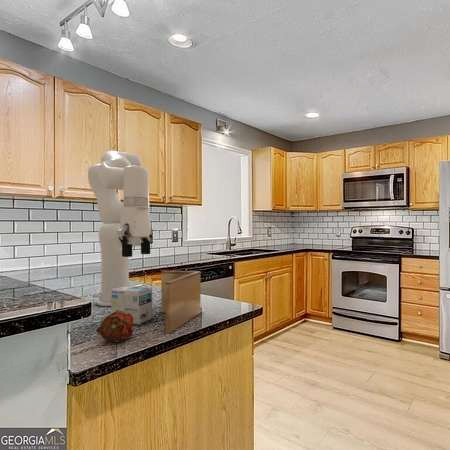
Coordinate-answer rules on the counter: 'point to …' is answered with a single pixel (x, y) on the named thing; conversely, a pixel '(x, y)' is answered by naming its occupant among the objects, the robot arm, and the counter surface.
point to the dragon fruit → (116, 326)
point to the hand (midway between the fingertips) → (136, 255)
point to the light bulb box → (133, 302)
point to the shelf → (180, 297)
